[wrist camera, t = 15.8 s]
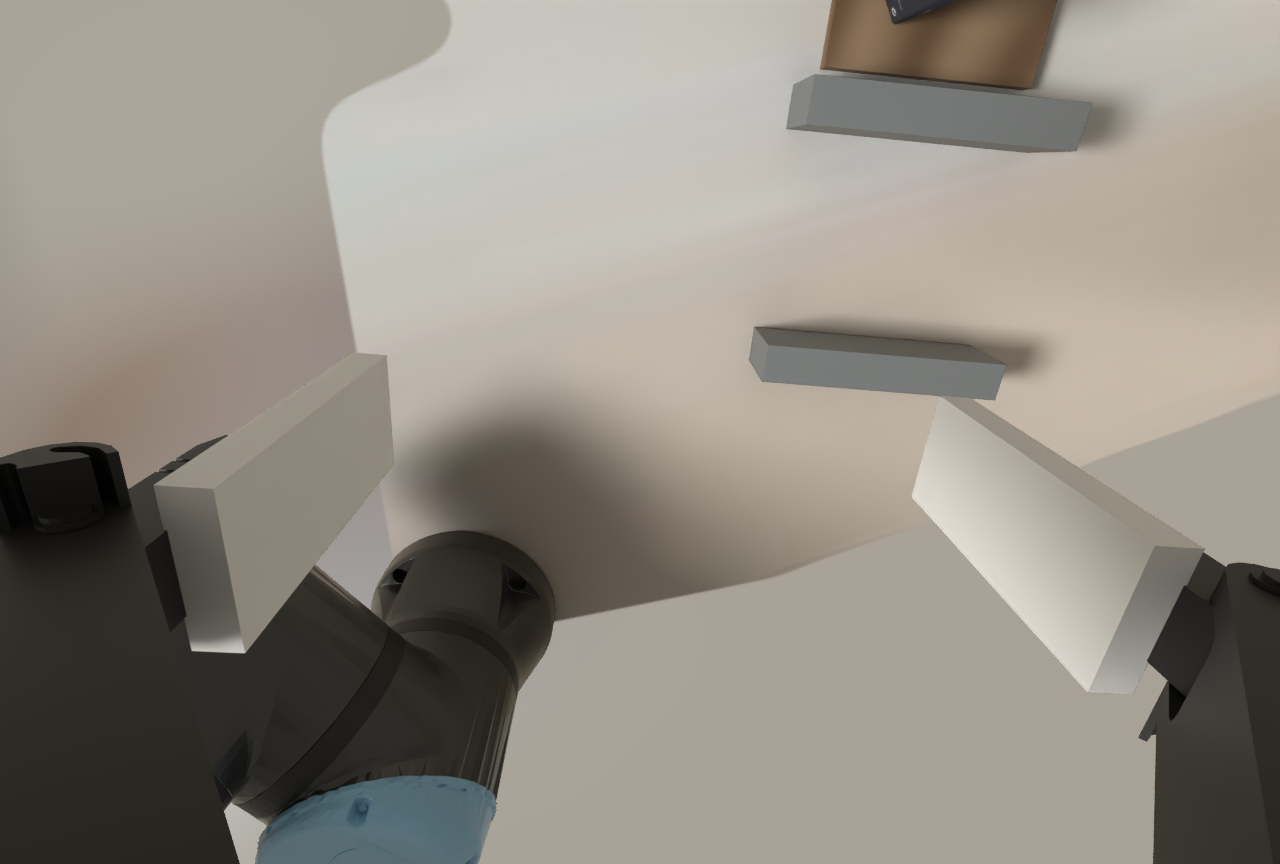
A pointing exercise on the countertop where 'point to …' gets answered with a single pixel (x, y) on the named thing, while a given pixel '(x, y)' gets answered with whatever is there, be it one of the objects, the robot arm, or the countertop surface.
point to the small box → (912, 8)
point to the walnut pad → (941, 41)
